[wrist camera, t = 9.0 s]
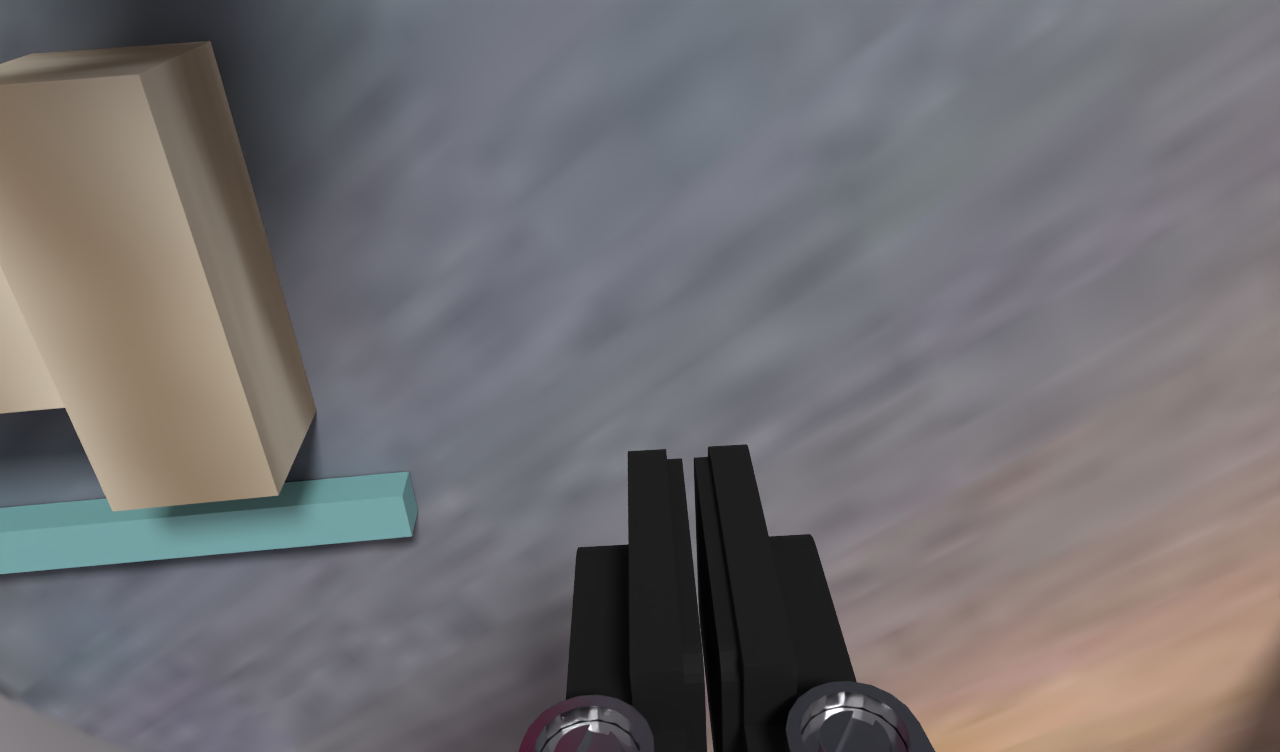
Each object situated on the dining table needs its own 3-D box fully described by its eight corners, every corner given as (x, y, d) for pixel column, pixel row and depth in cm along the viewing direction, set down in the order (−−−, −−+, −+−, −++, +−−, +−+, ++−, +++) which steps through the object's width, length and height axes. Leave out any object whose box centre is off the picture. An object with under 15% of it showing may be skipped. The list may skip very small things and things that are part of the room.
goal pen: (255, -181, 18) (236, -184, 17) (417, 510, 27) (411, 536, 26) (-533, -131, 17) (-604, -132, 16) (-98, 557, 26) (-125, 585, 25)
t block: (210, 40, 20) (138, 74, 16) (316, 409, 25) (278, 495, 21) (-244, 73, 19) (-417, 115, 16) (-43, 442, 24) (-142, 535, 21)
